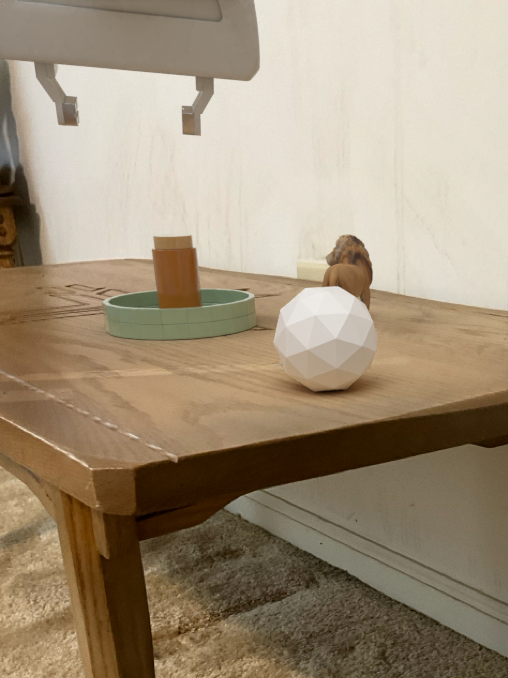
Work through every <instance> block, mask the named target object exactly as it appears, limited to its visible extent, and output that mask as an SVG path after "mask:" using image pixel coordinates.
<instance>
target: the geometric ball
mask: <svg viewBox="0 0 508 678" xmlns="http://www.w3.org/2000/svg"><path fill="white" fill-rule="evenodd" d="M378 338H379V337H378V333H377V329H376V326H375V324H374V321H373V318H372V316H371V314H370V310H369V311H368V309H367V307H366V305H365V304H364V303H363V302H361V299H360V298H359V297H357V298H356V297H355V296H353V295H352V294H350V293H348V292H347V291H345V290H343V289H342V288H340V287H339V286H334V287H322V286H317V287H315V286H314V287H305V288H304V289H302V290H301V291H299V292H298V294H296V296H294V297H293V298H292V299H291V300H290V301H288V302H287V303H286V304H285V305H284V306H283V307H281V308H280V310H279V315H278V319H277V324H276V328H275V333H274V337H273V341H272V342H273V346H274V348H275V351H276V353H277V355H278V357H279V360H280V363H281V365H282V367H283V370H284V372H285V374H286V375H287V376H289V377H290V378H292V379H293V380H294V381H297V382H298V383H300V384H301V385H302V386H305V387H306V388H308V389H309V390H311V391H312V392H314V393H315V392H327V391H341V390H347V389H348V388H349V387H350V386H352V385H353V384H354V383H355V382H356V381H358V379H360V378H361V377H362V376H363V375H364V374H365V373H366V372H368V371H369V370H370V369H371V367H372V365H373V362H374V359H375V356H376V354H377V351H378V349H377V348H378Z"/></svg>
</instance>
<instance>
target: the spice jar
mask: <svg viewBox="0 0 508 678" xmlns="http://www.w3.org/2000/svg"><path fill="white" fill-rule="evenodd" d="M152 239H153V246H154V247H153V248H151V255H152V264H153V271H154V279H155V288H156V289H155V290H157V297H158V305H159V308H187V307H200V306H202V297H201V288H202V287H201V279H200V269H199V259H198V249H197V247H196V246H194V240H193V235H192V234H189V233H170V234H169V233H168V234H156V235H155V234H154V235H153V236H152Z"/></svg>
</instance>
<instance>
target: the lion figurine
mask: <svg viewBox="0 0 508 678" xmlns="http://www.w3.org/2000/svg"><path fill="white" fill-rule="evenodd" d="M324 257H325V260H326V264H327V265H328V266H329V267H328V268H326V270H325V272H324V275H323V279H322V286H321V287H334V286H339V287H340V288H342V289H343V290H345V291H347V292H348V293H350V294H352V295H353V296H355V297H356V298H359V300H360V301H361V302H363V303H364V304H365V305H366V307H367V309H368V311H369V312H370V306H371V297H372V296H371V290H370V287H371V285H372V283H373V279H374V277H373V276H374V270H373V264H372V261H371V258H370V253H369V251H368V249H367V248H366V247H365V243H364V242H363V240H362V239H360V238H358V237H357V236H356V235H353V234H349V233H348V234H342V235H339V236H338V238H337V239H336V241H335V247H333V249H332V251H331V252H330V253H329V254H327V255H326V256H324Z"/></svg>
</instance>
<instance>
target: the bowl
mask: <svg viewBox="0 0 508 678" xmlns="http://www.w3.org/2000/svg"><path fill="white" fill-rule="evenodd" d="M201 297H202V306H200V307H187V308H159V305H158V297H157V289H155V290H146V291H136V292H135V291H134V292H128V293H124V294H123V293H122V294H118V295H114V296H111V297H107V298H105V299H104V300H102V301H101V306H102V313H103V320H104V326H105V332H106V333H107V334H109V335H110V336H112V337H113V336H114V337H118V338H122V339H131V340H141V341H142V340H143V341H145V340H146V341H172V340H173V341H176V340H193V339H195V340H196V339H204V338H214V337H221V336H228V335H233V334H237V333H241V332H245V331H248V330H250V329H252V328H254V327H256V326H257V314H256V312H257V311H256V310H257V309H256V300H255V298H256V297H255V294H254V293H252V292H250V291H245V290H238V289H229V288H206V287H205V288H202V287H201Z"/></svg>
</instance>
